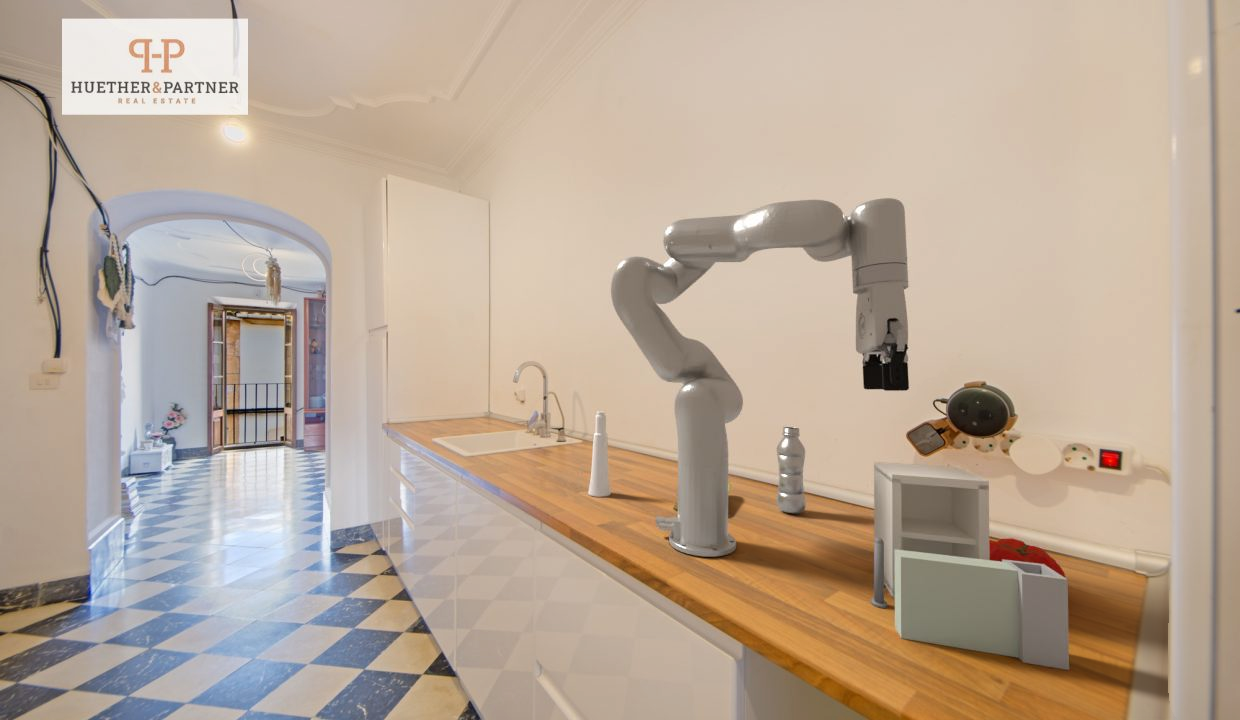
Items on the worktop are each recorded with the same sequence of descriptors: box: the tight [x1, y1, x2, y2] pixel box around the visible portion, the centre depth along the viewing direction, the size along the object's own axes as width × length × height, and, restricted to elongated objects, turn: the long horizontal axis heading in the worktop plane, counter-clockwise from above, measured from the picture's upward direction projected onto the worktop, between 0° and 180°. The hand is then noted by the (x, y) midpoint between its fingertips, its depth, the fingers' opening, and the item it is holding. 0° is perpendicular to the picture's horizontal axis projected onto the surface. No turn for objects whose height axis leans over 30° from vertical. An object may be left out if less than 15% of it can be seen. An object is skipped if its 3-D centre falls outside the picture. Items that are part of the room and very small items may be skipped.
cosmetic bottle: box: [587, 410, 612, 498], centre depth 117 cm, size 6×6×22 cm
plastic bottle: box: [775, 426, 807, 514], centre depth 104 cm, size 6×7×20 cm
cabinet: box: [870, 461, 990, 609], centre depth 66 cm, size 16×14×18 cm
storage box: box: [894, 549, 1070, 671], centre depth 53 cm, size 16×4×10 cm, turn 73°
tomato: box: [989, 537, 1066, 578], centre depth 68 cm, size 10×11×6 cm
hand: (884, 389), depth 68 cm, fingers open, 9 cm apart
